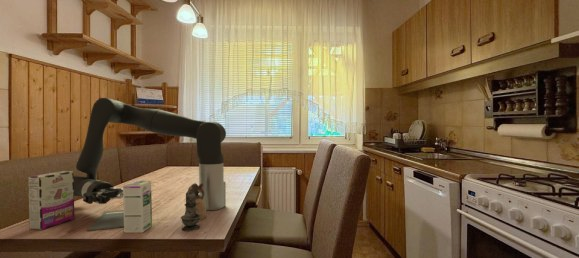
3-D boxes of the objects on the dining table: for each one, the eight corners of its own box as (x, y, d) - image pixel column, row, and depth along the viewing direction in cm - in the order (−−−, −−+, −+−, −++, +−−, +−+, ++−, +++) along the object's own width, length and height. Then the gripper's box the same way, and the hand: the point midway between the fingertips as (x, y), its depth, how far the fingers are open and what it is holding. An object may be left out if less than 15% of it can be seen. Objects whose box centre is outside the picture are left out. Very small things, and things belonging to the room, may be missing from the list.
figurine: (189, 215, 103) (189, 181, 103) (208, 215, 103) (208, 181, 103) (180, 221, 96) (180, 185, 96) (202, 221, 96) (202, 185, 96)
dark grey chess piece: (180, 226, 91) (180, 188, 91) (199, 223, 93) (199, 186, 93) (181, 232, 86) (181, 192, 86) (201, 229, 88) (201, 190, 88)
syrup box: (142, 233, 85) (142, 183, 85) (123, 233, 85) (122, 183, 85) (152, 226, 91) (152, 180, 91) (133, 226, 91) (133, 180, 91)
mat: (104, 212, 106) (104, 211, 106) (138, 209, 110) (138, 208, 110) (87, 231, 87) (87, 229, 87) (129, 226, 91) (129, 225, 91)
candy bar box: (62, 218, 100) (62, 170, 99) (75, 219, 99) (74, 171, 98) (27, 229, 89) (27, 175, 88) (40, 230, 88) (40, 176, 87)
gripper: (74, 183, 98) (95, 190, 89) (118, 178, 110) (141, 182, 100) (74, 206, 98) (95, 214, 89) (118, 197, 110) (141, 204, 100)
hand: (119, 197), depth 95 cm, fingers open, 8 cm apart
